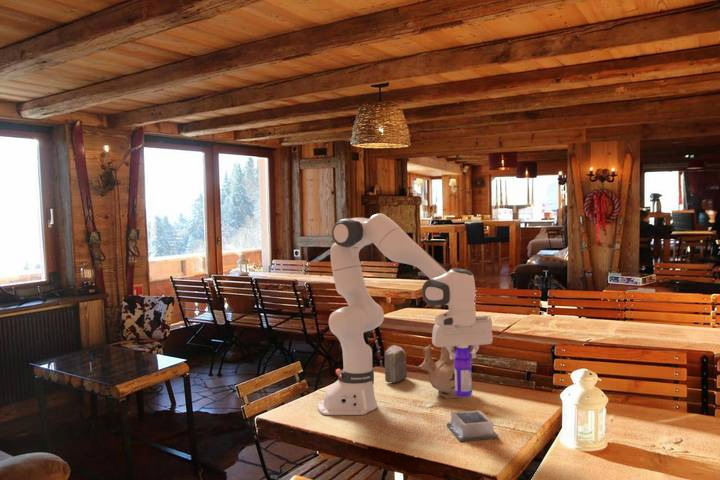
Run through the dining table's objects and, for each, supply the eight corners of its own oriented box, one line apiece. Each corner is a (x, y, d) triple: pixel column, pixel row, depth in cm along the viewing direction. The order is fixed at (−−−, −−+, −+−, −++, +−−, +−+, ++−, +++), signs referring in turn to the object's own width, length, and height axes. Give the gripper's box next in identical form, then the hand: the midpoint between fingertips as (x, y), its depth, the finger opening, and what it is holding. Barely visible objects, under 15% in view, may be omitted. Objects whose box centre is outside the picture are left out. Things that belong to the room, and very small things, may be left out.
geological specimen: (395, 385, 235) (395, 350, 234) (383, 383, 238) (382, 348, 238) (407, 378, 244) (407, 345, 243) (395, 376, 247) (394, 343, 247)
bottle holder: (459, 441, 177) (459, 426, 176) (446, 426, 189) (446, 412, 189) (498, 438, 179) (498, 423, 178) (482, 423, 192) (482, 409, 191)
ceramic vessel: (444, 385, 234) (444, 326, 233) (483, 394, 221) (483, 333, 220) (417, 395, 221) (416, 334, 220) (457, 407, 208) (456, 341, 207)
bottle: (472, 398, 180) (471, 345, 180) (454, 397, 181) (453, 345, 181) (472, 391, 187) (471, 340, 187) (455, 391, 188) (454, 340, 188)
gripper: (488, 314, 188) (488, 354, 189) (430, 317, 185) (430, 358, 186) (495, 317, 182) (496, 359, 183) (435, 320, 179) (436, 363, 179)
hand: (462, 358), depth 184 cm, fingers closed on bottle, 6 cm apart
